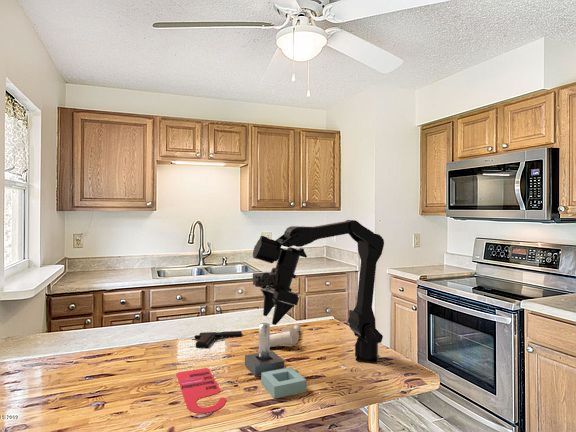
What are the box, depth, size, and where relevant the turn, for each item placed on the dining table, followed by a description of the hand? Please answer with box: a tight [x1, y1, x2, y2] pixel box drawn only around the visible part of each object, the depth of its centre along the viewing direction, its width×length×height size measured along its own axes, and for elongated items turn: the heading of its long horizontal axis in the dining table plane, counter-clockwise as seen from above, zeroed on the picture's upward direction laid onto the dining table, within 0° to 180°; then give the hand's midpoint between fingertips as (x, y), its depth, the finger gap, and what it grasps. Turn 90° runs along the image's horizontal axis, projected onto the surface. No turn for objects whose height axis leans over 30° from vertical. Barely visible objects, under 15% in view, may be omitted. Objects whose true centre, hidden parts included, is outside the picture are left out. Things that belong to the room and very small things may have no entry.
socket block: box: [244, 350, 285, 378], centre depth 114 cm, size 9×9×3 cm
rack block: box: [260, 366, 307, 399], centre depth 101 cm, size 9×9×3 cm
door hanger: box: [175, 367, 227, 414], centre depth 100 cm, size 9×1×25 cm
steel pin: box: [258, 322, 271, 362], centre depth 114 cm, size 3×3×13 cm
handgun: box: [194, 330, 243, 349], centre depth 137 cm, size 2×17×12 cm
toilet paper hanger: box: [270, 323, 301, 348], centre depth 139 cm, size 21×11×7 cm, turn 169°
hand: (269, 320), depth 111 cm, fingers open, 9 cm apart
